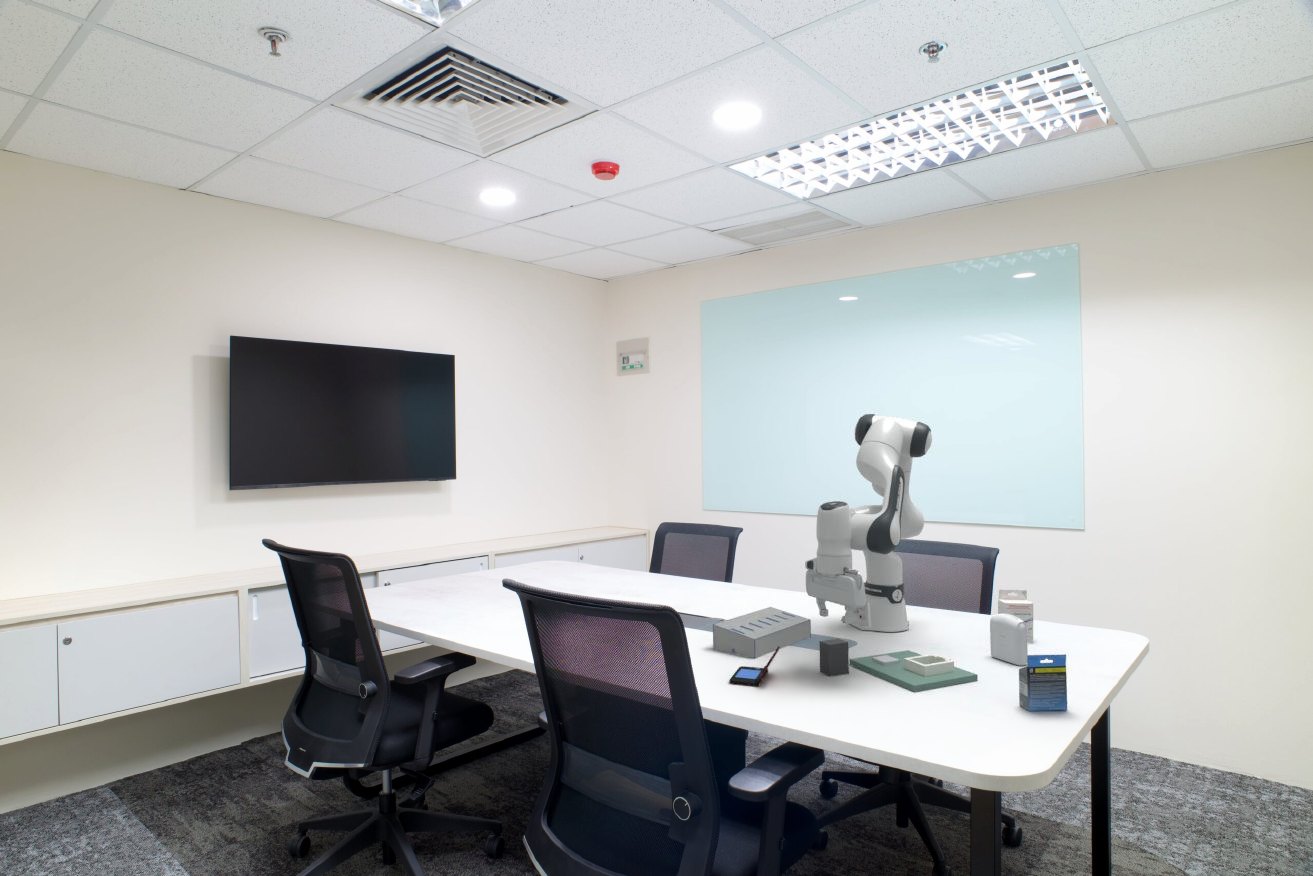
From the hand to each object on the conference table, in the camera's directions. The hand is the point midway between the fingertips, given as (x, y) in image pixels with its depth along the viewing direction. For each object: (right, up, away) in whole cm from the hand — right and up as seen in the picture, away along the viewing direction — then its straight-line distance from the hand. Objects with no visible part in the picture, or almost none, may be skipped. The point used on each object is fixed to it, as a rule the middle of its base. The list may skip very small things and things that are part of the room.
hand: (835, 619), depth 189 cm
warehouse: (-14, -15, +30) cm, 36 cm away
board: (+19, -14, 0) cm, 24 cm away
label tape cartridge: (+40, -13, -26) cm, 49 cm away
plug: (0, -14, 0) cm, 14 cm away
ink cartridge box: (+61, -14, +30) cm, 69 cm away
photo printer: (+49, -14, +10) cm, 52 cm away
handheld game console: (-21, -14, -4) cm, 26 cm away
